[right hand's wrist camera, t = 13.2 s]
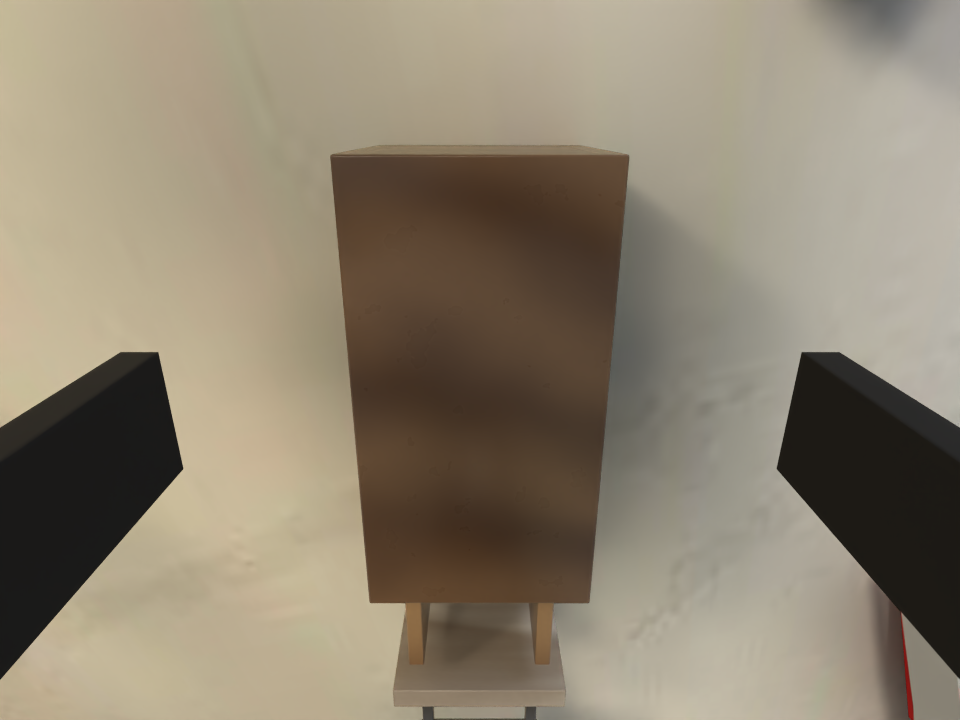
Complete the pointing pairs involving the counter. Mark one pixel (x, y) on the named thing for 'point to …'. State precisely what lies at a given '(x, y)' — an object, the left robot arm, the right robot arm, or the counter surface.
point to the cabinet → (479, 363)
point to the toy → (928, 679)
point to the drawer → (479, 657)
